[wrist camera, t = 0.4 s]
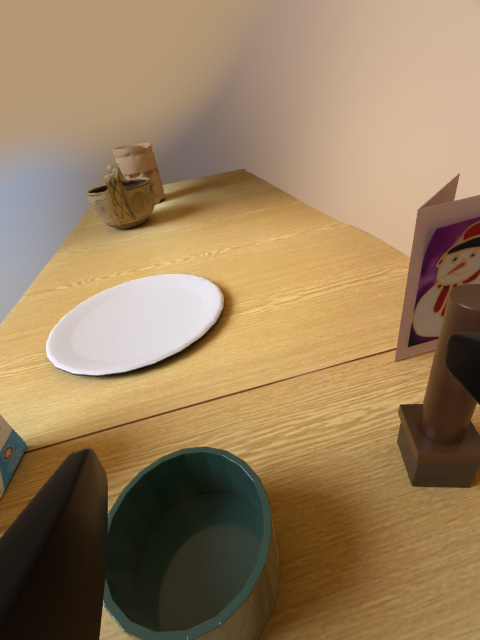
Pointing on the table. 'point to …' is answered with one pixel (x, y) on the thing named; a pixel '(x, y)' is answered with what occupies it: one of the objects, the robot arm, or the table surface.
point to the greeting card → (438, 266)
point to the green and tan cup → (192, 550)
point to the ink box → (9, 453)
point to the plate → (135, 324)
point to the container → (140, 165)
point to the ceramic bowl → (122, 199)
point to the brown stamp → (444, 409)
